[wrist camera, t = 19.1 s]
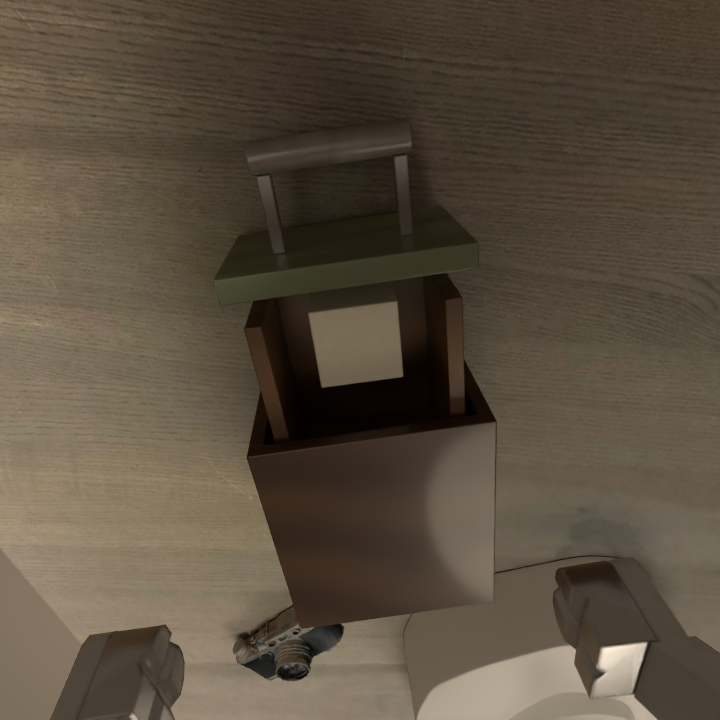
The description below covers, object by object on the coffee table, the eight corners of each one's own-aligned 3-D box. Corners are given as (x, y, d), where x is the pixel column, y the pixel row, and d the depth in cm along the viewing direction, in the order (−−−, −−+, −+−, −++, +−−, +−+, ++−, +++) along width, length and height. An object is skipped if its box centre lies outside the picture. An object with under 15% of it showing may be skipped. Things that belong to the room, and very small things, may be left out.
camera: (228, 639, 46) (220, 686, 43) (314, 593, 44) (313, 639, 40) (263, 662, 48) (259, 709, 45) (347, 619, 46) (349, 665, 42)
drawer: (214, 139, 24) (175, 156, 18) (437, 106, 24) (478, 112, 18) (287, 428, 34) (278, 507, 27) (450, 404, 33) (480, 478, 27)
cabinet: (265, 366, 32) (246, 457, 24) (453, 338, 32) (497, 421, 24) (305, 520, 39) (301, 629, 31) (459, 498, 39) (494, 601, 31)
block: (309, 281, 27) (307, 312, 23) (387, 270, 27) (397, 300, 23) (321, 349, 29) (321, 388, 26) (393, 340, 29) (403, 377, 26)
